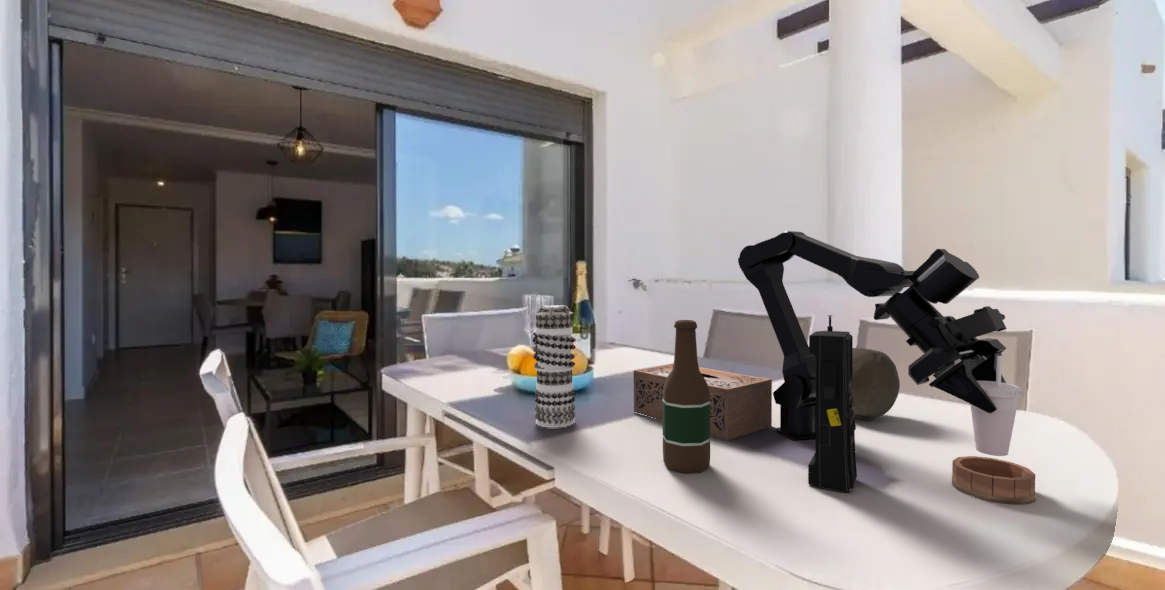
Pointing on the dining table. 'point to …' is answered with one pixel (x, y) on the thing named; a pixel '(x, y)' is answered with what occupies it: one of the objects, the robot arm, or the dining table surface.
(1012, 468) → the round brown planter pot
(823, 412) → the portable radio
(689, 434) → the beer bottle
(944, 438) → the dining table surface
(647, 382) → the tissue box cover
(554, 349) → the decorative candle
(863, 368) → the round brown rock
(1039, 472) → the dining table surface
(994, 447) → the smoothie
